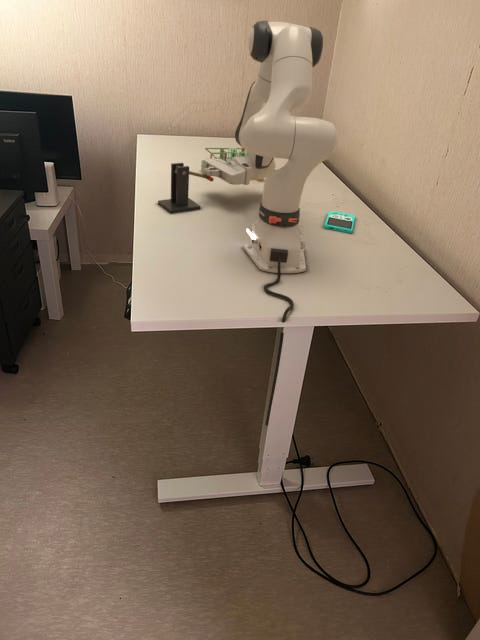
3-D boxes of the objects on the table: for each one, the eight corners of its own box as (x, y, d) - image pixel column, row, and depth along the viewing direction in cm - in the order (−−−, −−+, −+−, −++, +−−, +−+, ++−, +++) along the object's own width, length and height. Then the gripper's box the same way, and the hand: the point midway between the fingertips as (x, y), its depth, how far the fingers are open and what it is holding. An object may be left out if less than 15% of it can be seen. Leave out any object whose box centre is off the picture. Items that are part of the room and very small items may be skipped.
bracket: (187, 199, 173) (188, 159, 165) (200, 209, 167) (202, 168, 159) (157, 203, 167) (157, 162, 159) (170, 213, 161) (171, 170, 152)
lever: (204, 178, 170) (206, 172, 169) (212, 183, 167) (214, 176, 166) (172, 170, 161) (173, 163, 160) (179, 175, 158) (181, 168, 157)
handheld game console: (355, 218, 175) (356, 214, 174) (352, 233, 162) (353, 230, 161) (328, 213, 176) (329, 209, 176) (323, 228, 163) (324, 224, 162)
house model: (275, 180, 204) (277, 169, 202) (212, 182, 194) (213, 170, 191) (245, 157, 230) (246, 148, 228) (188, 158, 220) (188, 148, 217)
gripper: (222, 153, 178) (191, 155, 171) (253, 168, 165) (220, 172, 157) (221, 169, 181) (190, 172, 174) (251, 186, 168) (219, 190, 161)
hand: (204, 172), depth 166 cm, fingers closed, pressing on lever
